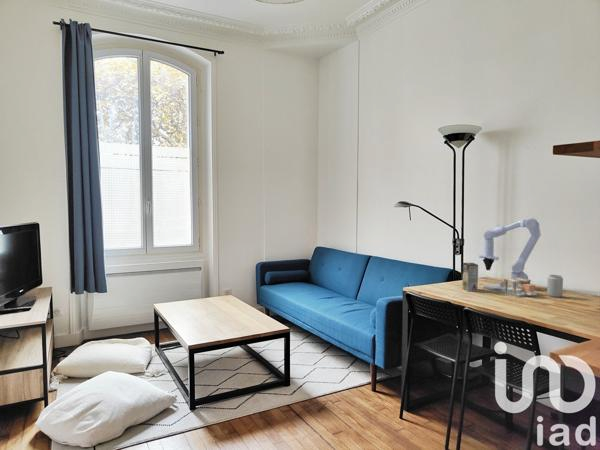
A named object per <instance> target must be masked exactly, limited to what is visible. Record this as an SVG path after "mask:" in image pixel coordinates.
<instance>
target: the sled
mask: <svg viewBox="0 0 600 450" xmlns="http://www.w3.org/2000/svg"><path fill="white" fill-rule="evenodd" d="M498 284H499V287H503V288H504V280H503V281H499V282H498ZM507 288H508V289H512V290H513V288H511V287H507ZM516 290H517V291H521V292H522V290H520V289H516ZM537 293H538V291H536V290H535V291H534V292H529V293H525V294H527V295H537ZM537 296H538V295H537Z"/></svg>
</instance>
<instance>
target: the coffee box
mask: <svg viewBox="0 0 600 450" xmlns="http://www.w3.org/2000/svg"><path fill="white" fill-rule="evenodd" d="M478 283H479V264H477V263H474V262H462V287H461V288H462V289H463V290H465V291H467V292H478V287H479V285H478Z"/></svg>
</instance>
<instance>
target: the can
mask: <svg viewBox="0 0 600 450" xmlns="http://www.w3.org/2000/svg"><path fill="white" fill-rule="evenodd" d="M562 276H563V275H561V274H560V275H559V274H548V276H547V283H546V284H547V285H546V286H547V288H546V292H547V293H546V294H547V296H548V297H552V298H561V297H563V295H564V294H563V291H564V288H563V285H564V278H563V277H562Z"/></svg>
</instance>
